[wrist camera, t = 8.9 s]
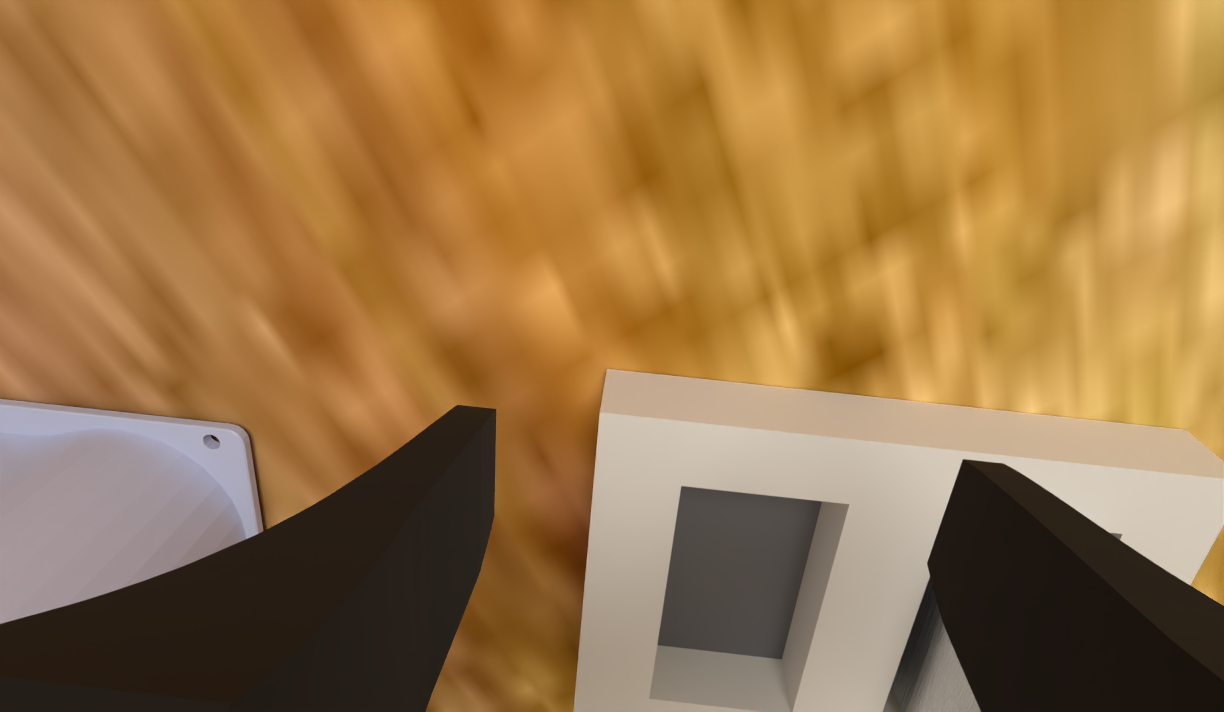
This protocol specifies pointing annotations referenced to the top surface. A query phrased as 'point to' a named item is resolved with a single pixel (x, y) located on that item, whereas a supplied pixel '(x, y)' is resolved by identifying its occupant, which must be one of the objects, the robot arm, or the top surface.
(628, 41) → the top surface
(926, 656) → the tall grey block
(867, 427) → the light grey flat piece
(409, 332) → the top surface
